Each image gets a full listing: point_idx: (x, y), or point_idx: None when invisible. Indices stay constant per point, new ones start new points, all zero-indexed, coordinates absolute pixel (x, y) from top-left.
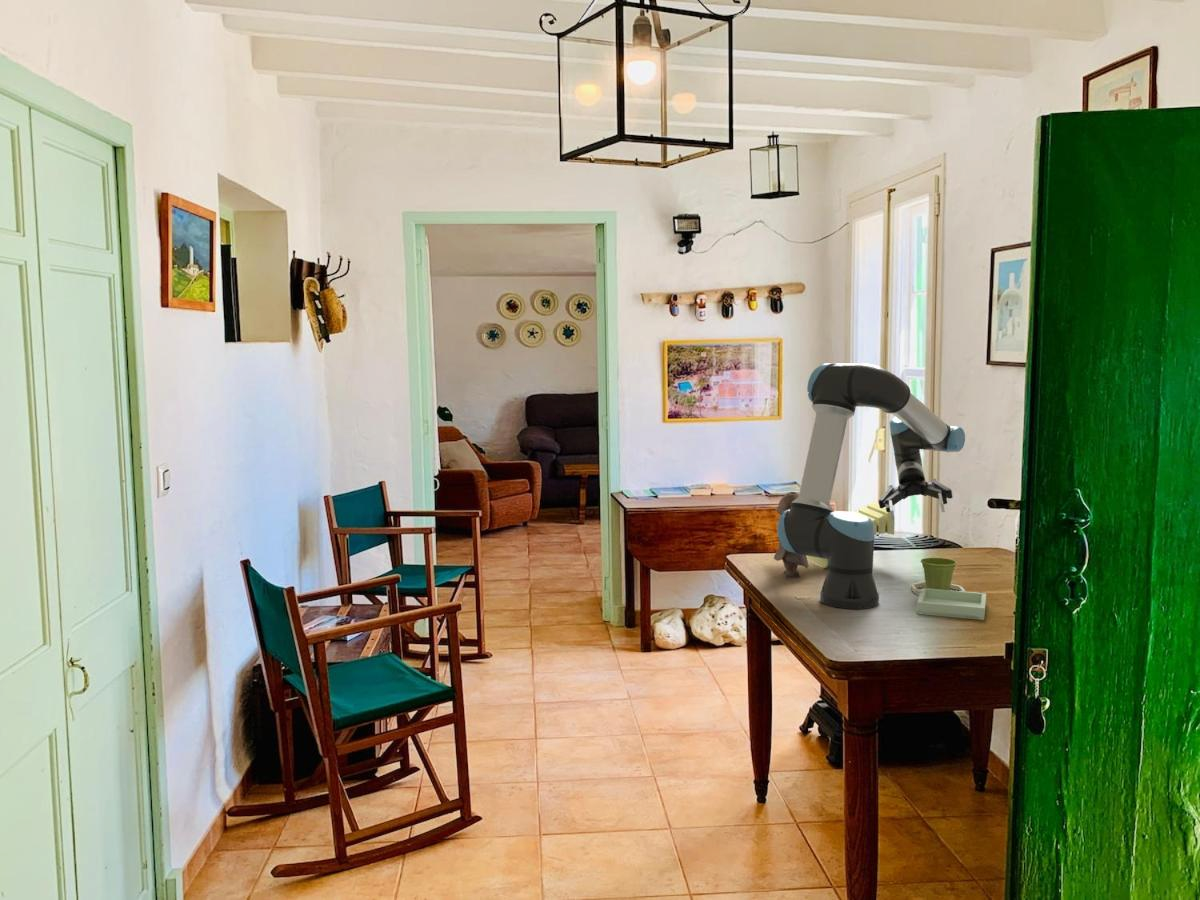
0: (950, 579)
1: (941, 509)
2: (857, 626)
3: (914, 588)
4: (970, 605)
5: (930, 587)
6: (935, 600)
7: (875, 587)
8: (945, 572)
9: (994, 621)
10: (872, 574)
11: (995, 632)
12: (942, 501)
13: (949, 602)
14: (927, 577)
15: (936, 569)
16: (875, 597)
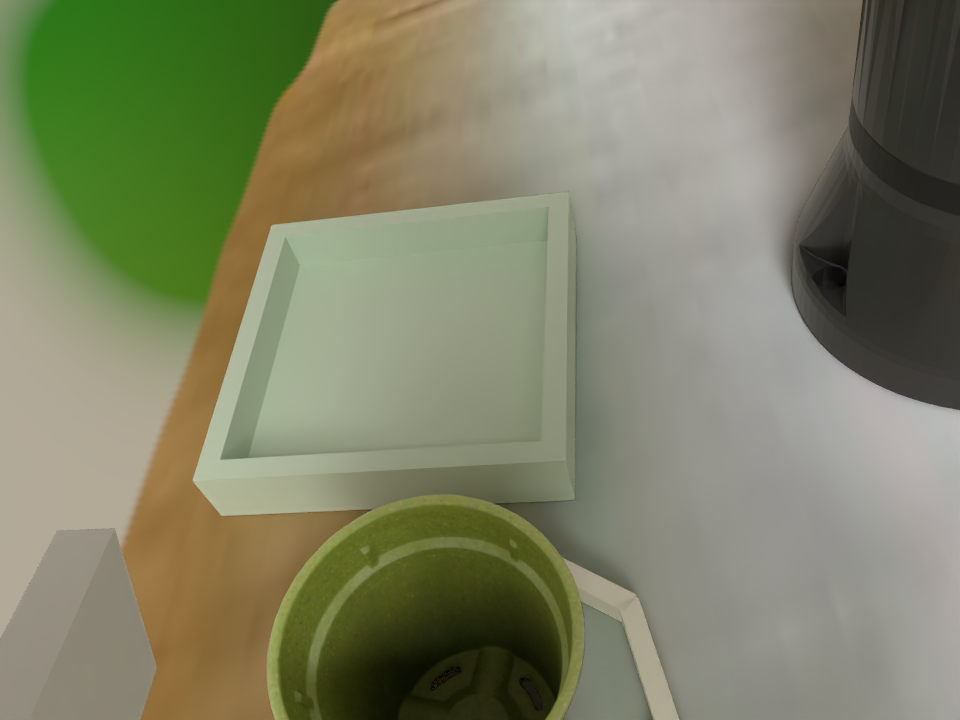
0: (366, 650)
1: (142, 640)
2: (779, 23)
3: (639, 623)
4: (313, 398)
5: (523, 639)
6: (491, 420)
7: (816, 206)
8: (390, 566)
9: (253, 266)
10: (848, 150)
11: (283, 155)
12: (33, 594)
13: (416, 411)
14: (536, 615)
15: (453, 530)
16: (800, 215)
